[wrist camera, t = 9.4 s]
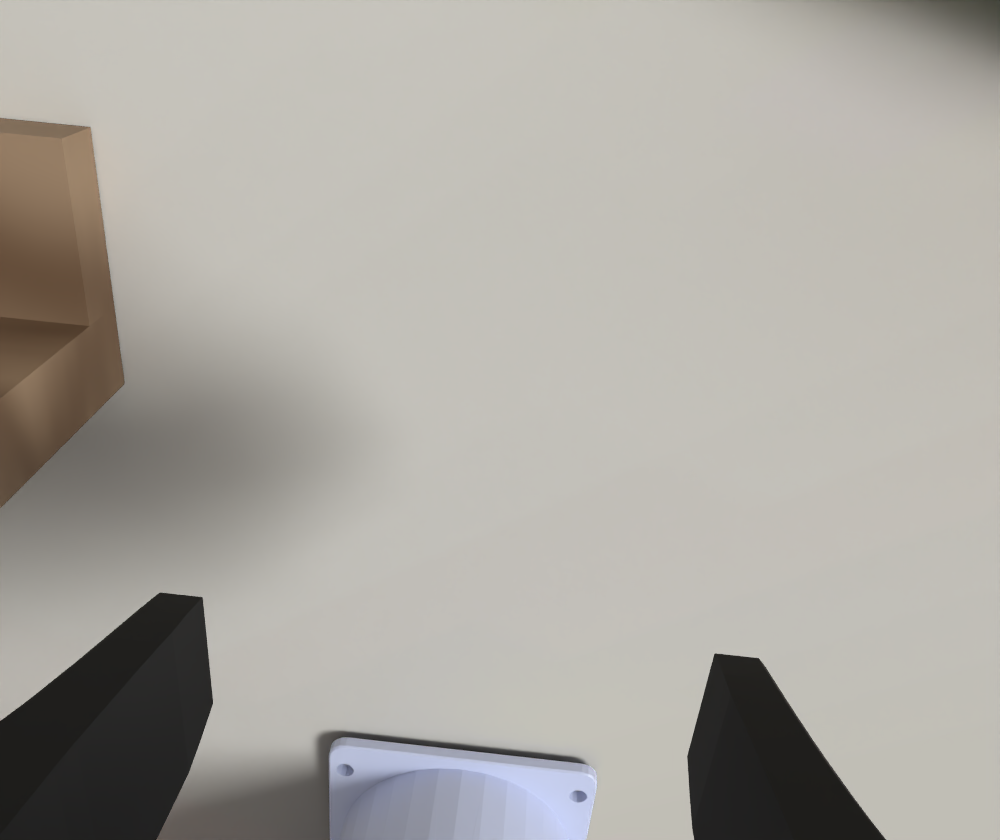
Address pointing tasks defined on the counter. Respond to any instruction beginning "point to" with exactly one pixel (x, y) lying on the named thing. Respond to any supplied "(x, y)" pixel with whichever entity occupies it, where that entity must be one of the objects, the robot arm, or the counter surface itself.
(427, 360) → the counter surface
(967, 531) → the counter surface
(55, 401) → the slotted wooden block
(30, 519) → the counter surface
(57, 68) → the counter surface
